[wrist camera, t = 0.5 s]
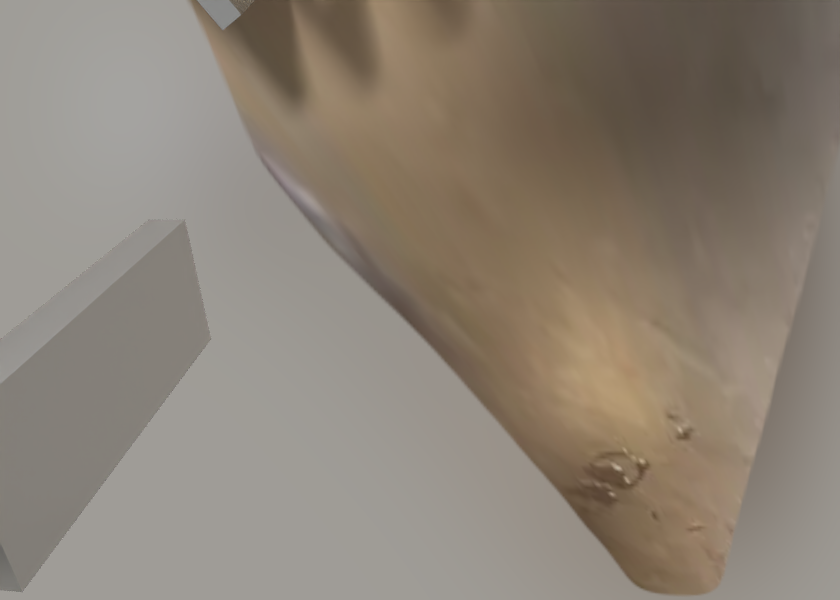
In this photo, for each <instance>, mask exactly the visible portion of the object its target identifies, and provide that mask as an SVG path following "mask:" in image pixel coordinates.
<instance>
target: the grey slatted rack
mask: <svg viewBox="0 0 840 600" xmlns="http://www.w3.org/2000/svg"><path fill="white" fill-rule="evenodd" d="M197 1H198V2H199V3H200V5H201V6H202V7H203V8H204V9H205V10H206V12H207V13H208V14H209V15H210V16H211V17H212V18H213V20H214V21H215V22H216V23H217V24H218V25H219V27H220V28H221V29H222V30H224V29H225V28H226V27H227V26H229V25H230V24H231V23H232V22H233V21H235V20H236V19H237V18H238V17H239V16H240V15H242V14H243V12H244V11H245V10H246V9H247V8H248V7H249V6H250V5H251V4H252V3H253V2H254V1H255V0H197Z"/></svg>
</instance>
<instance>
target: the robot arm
mask: <svg viewBox="0 0 840 600" xmlns="http://www.w3.org/2000/svg"><path fill="white" fill-rule="evenodd" d="M210 340H211V336H210V331H209V327H208V322H207V318H206V313H205V309H204V304H203V299H202V295H201V290H200V286H199V281H198V277H197V272H196V268H195V263H194V259H193V254H192V249H191V245H190V240H189V236H188V231H187V227H186V222H185V219H182V220H148V221H146V222H145V223H144V224H143V225H141V226H140V227H139V228H138V229H136V230H135V231H134V232H133V233H131V234H130V235H129V236H128V237H127V238H125V239H124V240H123V241H122V242H120V243H119V244H118V245H117V246H115V247H114V248H113V249H112V250H110V251H109V252H108V253H107V254H105V255H104V256H103V257H102V258H100V259H99V260H98V261H97V262H95V263H94V264H93V265H92V266H91V267H89V268H88V269H87V270H86V271H84V272H83V273H82V274H81V275H80V276H79V277H77V278H76V279H74V280H73V281H72V282H71V283H69V284H68V285H67V286H66V287H64V288H63V289H62V290H61V291H60V292H58V293H57V294H56V295H55V296H53V297H52V298H51V299H50V300H48V301H47V302H46V303H45V304H43V305H42V306H41V307H40V308H38V309H37V310H36V311H35V312H33V313H32V314H31V315H30V316H29V317H28V318H26V319H25V320H24V321H22V322H21V323H20V324H19V325H17V326H16V327H15V328H14V329H12V330H11V331H10V332H9V333H7V334H6V335H5V336H4V337H3V338H1V339H0V590H4V591H17V592H23V591H24V589H25V588H26V586H27V585H28V584H29V582H30V581H31V580H32V578H33V577H34V576H35V574H36V573H37V572H38V570H39V569H40V568H41V566H42V565H43V564H44V562H45V561H46V560H47V558H48V557H49V556H50V554H51V553H52V552H53V550H54V549H55V548H56V546H57V545H58V544H59V542H60V541H61V540H62V538H63V537H64V536H65V534H66V533H67V531H68V530H69V529H70V527H71V526H72V525H73V524H74V522H75V521H76V520H77V518H78V517H79V515H80V514H81V513H82V511H83V510H84V509H85V507H86V506H87V505H88V503H89V502H90V501H91V499H92V498H93V497H94V495H95V494H96V493H97V491H98V490H99V489H100V487H101V486H102V485H103V483H104V482H105V481H106V479H107V478H108V477H109V475H110V474H111V473H112V471H113V470H114V468H115V467H116V466H117V465H118V463H119V462H120V460H121V459H122V458H123V456H124V455H125V454H126V452H127V451H128V450H129V448H130V447H131V446H132V444H133V443H134V442H135V440H136V439H137V438H138V436H139V435H140V434H141V432H142V431H143V430H144V428H145V427H146V426H147V424H148V423H149V422H150V420H151V419H152V418H153V416H154V415H155V413H156V412H157V411H158V410H159V408H160V407H161V406H162V404H163V403H164V402H165V400H166V399H167V397H168V396H169V395H170V393H171V392H172V391H173V389H174V388H175V387H176V385H177V384H178V383H179V381H180V379H182V377H183V376H184V375H185V373H186V372H187V371H188V369H189V368H190V366H191V365H192V364H193V363H194V361H195V360H196V359H197V357H198V356H199V355H200V353H201V352H202V351H203V349H204V348H205V347H206V345H207V344H208V342H209V341H210Z"/></svg>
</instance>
